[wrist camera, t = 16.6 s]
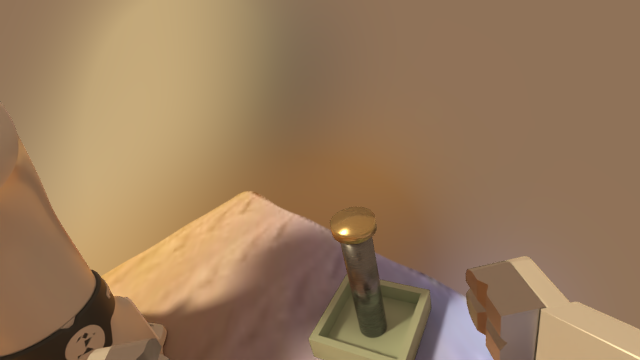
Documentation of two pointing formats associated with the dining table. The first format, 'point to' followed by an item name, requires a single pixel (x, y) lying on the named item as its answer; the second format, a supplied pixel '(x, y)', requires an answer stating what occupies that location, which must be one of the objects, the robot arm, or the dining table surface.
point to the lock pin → (361, 266)
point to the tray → (381, 352)
